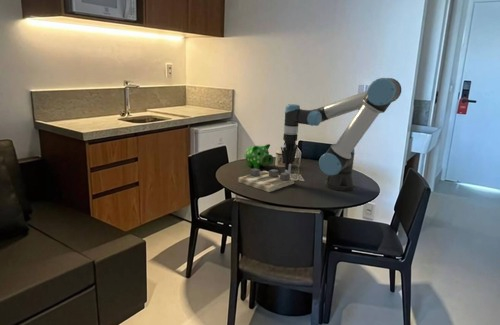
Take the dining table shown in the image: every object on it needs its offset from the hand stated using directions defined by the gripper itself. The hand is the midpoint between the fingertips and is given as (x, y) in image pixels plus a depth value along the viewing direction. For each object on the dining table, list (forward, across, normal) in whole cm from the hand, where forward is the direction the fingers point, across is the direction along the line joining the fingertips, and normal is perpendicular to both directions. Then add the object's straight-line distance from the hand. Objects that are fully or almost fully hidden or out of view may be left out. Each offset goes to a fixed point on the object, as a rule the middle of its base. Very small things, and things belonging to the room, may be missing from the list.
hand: (287, 175), depth 205 cm
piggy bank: (+5, -12, -33) cm, 35 cm away
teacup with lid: (+5, -28, -24) cm, 37 cm away
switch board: (+5, +9, -8) cm, 13 cm away
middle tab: (+2, +3, -8) cm, 8 cm away
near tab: (+2, +3, 0) cm, 3 cm away
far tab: (+2, +10, -16) cm, 18 cm away
